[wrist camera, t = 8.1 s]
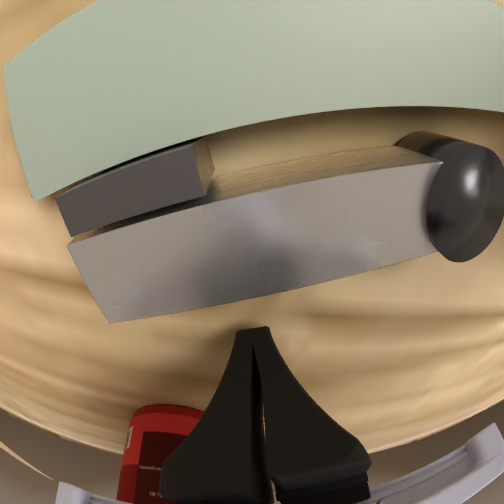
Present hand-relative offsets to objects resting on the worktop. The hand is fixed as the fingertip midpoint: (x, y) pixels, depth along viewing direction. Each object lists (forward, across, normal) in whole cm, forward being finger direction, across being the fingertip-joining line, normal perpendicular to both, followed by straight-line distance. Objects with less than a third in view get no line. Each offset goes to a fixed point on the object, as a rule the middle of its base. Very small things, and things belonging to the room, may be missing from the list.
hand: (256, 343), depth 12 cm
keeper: (+1, +2, -8) cm, 8 cm away
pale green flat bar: (+1, -6, -12) cm, 13 cm away
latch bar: (+1, -3, -6) cm, 6 cm away
